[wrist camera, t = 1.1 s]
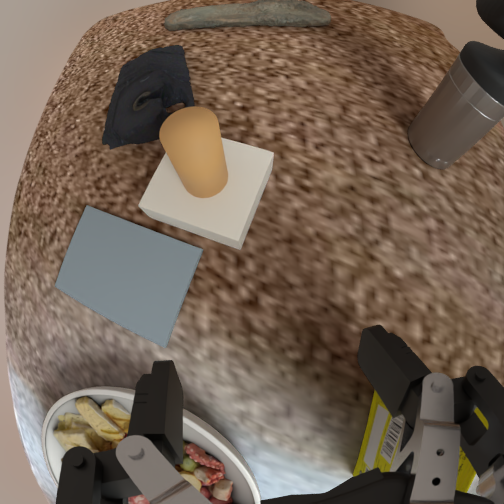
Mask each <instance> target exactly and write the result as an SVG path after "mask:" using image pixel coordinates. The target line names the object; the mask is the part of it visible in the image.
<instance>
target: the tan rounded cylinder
mask: <svg viewBox="0 0 504 504" xmlns="http://www.w3.org/2000/svg"><path fill="white" fill-rule="evenodd" d="M159 138H160V141H161V144H162V145H163V147H164V149H165V151H166V153H167V155H168V157H169V159H170V161H171V163H172V164H173V166H174V168H175V170H176V172H177V174H178V176H179V178H180V179H181V181H182V183H183V185H184V187H185V189H186V190H187V191H188V193H190V194H191V195H193V196H195V197H198V198H209V197H212V196H215V195H216V194H218V193H219V192H221V191H222V190H223V189H224V187H225V186H226V184H227V181H228V171H227V165H226V160H225V155H224V149H223V144H222V139H221V133H220V128H219V123H218V119H217V117H216V115H215V114H214V113H213V112H212V111H210V110H208V109H206V108H203V107H195V106H194V107H186V108H183V109H180V110H178V111H176V112H174V113H173V114H171V115H170V116H169V117H168V118H167V119H166V120H165V121H164V122H163V124H162V126H161V128H160V132H159Z"/></svg>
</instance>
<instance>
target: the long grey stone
mask: <svg viewBox="0 0 504 504" xmlns="http://www.w3.org/2000/svg"><path fill="white" fill-rule="evenodd" d="M330 21H331V15H330V14H329V12H327V11H325V10H323V9H320V8H318V7H317V6H313V5H312V4H310V3H308V2H305V1H298V0H258V1H256V2H252V3H245V4H225V5H216V6H206V7H196V8H192V9H184V10H183V9H181V10H180V11H176V12H175V13H172V14H170V15H169V16H168V17H167V18H165V23H164V25H165V28H166V29H168V30H169V31H172V30H173V31H175V30H181V29H192V28H215V27H226V26H227V27H233V26H239V27H245V26H251V25H262V26H263V25H268V26H297V27H306V26H323V25H328V24H329V23H330Z"/></svg>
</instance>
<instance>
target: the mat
mask: <svg viewBox="0 0 504 504" xmlns="http://www.w3.org/2000/svg"><path fill="white" fill-rule="evenodd" d="M202 252H203V249H200V248H198V247H195V246H192V245H190V244H187V243H184V242H182V241H179V240H176V239H174V238H171V237H168V236H166V235H163V234H160V233H158V232H155V231H152V230H150V229H147V228H145V227H142V226H139V225H137V224H134V223H131V222H129V221H126V220H124V219H121V218H119V217H116V216H113V215H111V214H108V213H106V212H103V211H100V210H98V209H95V208H93V207H90V206H88V205H87V206H86V208H85V210H84V212H83V215H82V217H81V219H80V221H79V224H78V226H77V228H76V230H75V233H74V235H73V238H72V240H71V243H70V245H69V248H68V250H67V253H66V255H65V258H64V261H63V264H62V266H61V269H60V272H59V275H58V278H57V281H56V284H55V287H56V288H58V289H60V290H61V291H63V292H64V293H66V294H67V295H69V296H70V297H72V298H74V299H75V300H77V301H78V302H80V303H82V304H83V305H85V306H87V307H88V308H90V309H92V310H93V311H95V312H97V313H99V314H100V315H102V316H104V317H106V318H107V319H109V320H111V321H113V322H115V323H117V324H118V325H120V326H122V327H124V328H126V329H128V330H130V331H132V332H134V333H136V334H138V335H140V336H142V337H144V338H146V339H148V340H150V341H152V342H154V343H156V344H158V345H160V346H162V347H164V348H165V347H167V344H168V341H169V338H170V336H171V333H172V330H173V327H174V325H175V322H176V319H177V317H178V314H179V311H180V309H181V306H182V303H183V301H184V298H185V295H186V293H187V290H188V288H189V285H190V282H191V280H192V277H193V275H194V272H195V270H196V267H197V265H198V262H199V260H200V257H201V255H202Z"/></svg>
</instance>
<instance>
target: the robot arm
mask: <svg viewBox="0 0 504 504" xmlns="http://www.w3.org/2000/svg"><path fill="white" fill-rule="evenodd" d="M476 7H477V11H478V14H479V16H480V17H481V19H482V20H483V21H484V22H485V23H486V24H487V25H488V26H489V27H490V28H491V29H492V30H493V31H494V32H496V33H497V34H498V35H499V36H500V37H502V38H503V39H504V0H476ZM503 117H504V50H500V49H496V48H493V47H490V46H488V45H485V44H483V43H480V42H476V41H470V42H468V43H467V44H466V45H465V46H464V48H463V49H462V51H461V52H460V54H459V55H458V57H457V58H456V60H455V62H454V63H453V65H452V66H451V68H450V69H449V71H448V72H447V74H446V75H445V77H444V78H443V80H442V81H441V83H440V84H439V85H438V87H437V88H436V90H435V91H434V93H433V94H432V95H431V97H430V98H429V100H428V101H427V103H426V104H425V105H424V107H423V108H422V110H421V111H420V112H419V114H418V115H417V116H416V118H415V119H414V120H413V122H412V123H411V125H410V126H409V129H408V137H409V140H410V143H411V145H412V147H413V149H414V150H415V152H416V153H417V154H418V155H419V156H420V158H421V159H422V160H424V161H425V162H426V163H427V164H429V165H431V166H432V167H435V168H438V169H446V168H448V167H449V166H451V165H452V164H453V163H454V162H455V161H456V160H458V159H459V158H460V157H461V156H462V155H463V154H465V153H466V152H467V151H468V150H469V149H470V148H471V147H472V146H473V145H475V144H476V143H477V142H478V141H479V140H480V139H481V138H482V137H483V136H484V135H485V134H486V133H488V132H489V131H490V130H491V129H492V128H493V127H494V126H495V125H496V124H497V123H498V122H499V121H500V120H501V119H502V118H503ZM358 363H359V366H360V368H361V369H362V371H363V372H364V374H365V375H366V377H367V378H368V380H369V381H370V383H371V385H372V386H373V388H374V389H375V391H376V392H377V394H378V395H379V397H380V398H381V400H382V402H383V403H384V405H385V406H386V408H387V409H388V411H389V412H390V414H391V416H392V417H393V418H395V417H398V416H400V415H403V416H404V420H403V423H402V429H401V434H400V439H399V444H398V449H397V453H396V457H395V459H394V462H393V464H392V466H391V468H390V471H389V472H381V471H380V469H379V467H377V468H375V469H372V470H370V471H367V472H365V473H362V474H360V475H357V476H354V477H352V478H350V479H349V480H347V481H345V482H344V483H342V484H340V485H339V486H337V487H335V488H333V489H332V490H330V491H328V492H326V493H321V494H303V495H288V496H283V497H278V498H273V499H267V500H261V501H260V504H504V387H503V386H502V385H501V384H500V383H499V382H498V380H497V379H496V378H495V377H494V376H493V375H492V374H491V373H490V371H489V370H487V369H486V368H484V367H482V366H473V367H471V368H470V369H469V370H468V372H467V374H466V375H465V377H460V378H454V379H450V378H449V377H448V376H446V375H444V374H442V373H432V372H431V371H430V370H429V369H428V368H427V367H426V365H425V364H424V363H423V362H422V361H421V360H420V359H419V358H418V356H417V355H416V354H415V353H414V352H412V350H411V349H410V347H408V346H407V344H406V343H405V342H404V341H403V340H402V339H401V338H400V337H398V336H396V335H395V334H393V333H388V332H387V331H386V330H385V329H384V328H383V327H382V326H381V325H375V326H372V327H368V328H365V329H363V331H362V335H361V340H360V345H359V350H358ZM477 407H478V409H479V410H480V412H481V413H482V414H483V416H484V417H485V418H486V420H487V421H488V430H487V428H486V427H485V426H484V424H483V423H482V421H481V420H480V419H479V417H478V416H477V415H476V413H475V412H474V410H475V409H476V408H477ZM460 447H461V448H462V450H463V452H464V453H465V455H466V456H467V458H468V460H469V461H470V463H471V465H472V467H473V468H474V470H475V472H476V473H477V475H478V477H479V483H478V486H477V488H476V493H477V494H478V495H481V496H477V495H473V494H469V493H465V492H462V491H458V490H456V483H457V475H458V465H459V453H460ZM175 464H183V391H182V386H181V383H180V380H179V377H178V374H177V371H176V368H175V365H174V363H173V361H172V360H166V361H154V363H153V367H152V373H151V374H143V376H142V377H141V378H140V380H139V381H138V382H137V385H136V390H135V396H134V400H133V405H132V411H131V417H130V422H129V428H128V434H127V437H126V438H124V439H123V440H122V441H120V443H119V444H118V446H117V447H116V448H114V449H111V450H107V451H102V452H96V453H93V452H92V451H91V450H89V449H88V448H86V447H83V446H76V447H73V448H71V449H69V450H68V451H67V452H66V453H65V454H64V456H63V460H62V465H61V471H60V477H59V483H58V490H57V498H56V504H128V497H133V496H138V495H144V496H145V497H146V499H147V500H148V501H149V503H150V504H212V503H211V502H210V501H209V500H208V499H207V498H206V497H205V496H203V495H202V494H201V493H200V492H199V491H198V490H197V489H196V488H195V487H194V486H193V485H192V484H191V483H189V482H188V481H186V480H185V479H184V478H183V477H182V476H181V475H180V474H179V473H178V472H177V470H176V469H175Z"/></svg>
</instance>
